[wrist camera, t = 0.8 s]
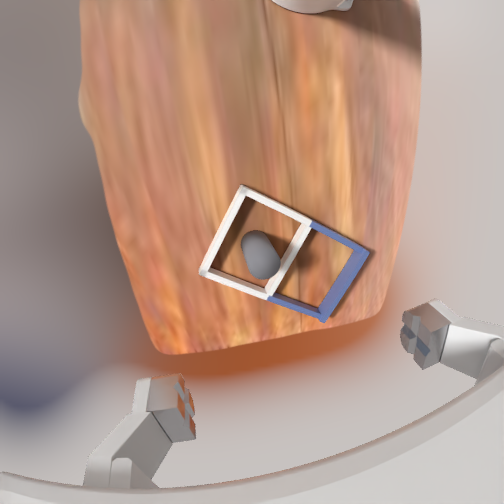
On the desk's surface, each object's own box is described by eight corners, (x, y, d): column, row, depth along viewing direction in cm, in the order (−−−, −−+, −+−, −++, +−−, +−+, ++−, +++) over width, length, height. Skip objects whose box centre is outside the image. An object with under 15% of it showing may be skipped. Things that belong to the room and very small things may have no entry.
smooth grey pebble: (248, 225, 47) (257, 244, 40) (273, 237, 48) (286, 256, 41) (236, 250, 48) (242, 272, 41) (260, 260, 50) (270, 283, 42)
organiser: (240, 184, 44) (243, 187, 42) (361, 246, 52) (369, 252, 49) (199, 269, 48) (198, 277, 46) (319, 314, 56) (324, 323, 53)
